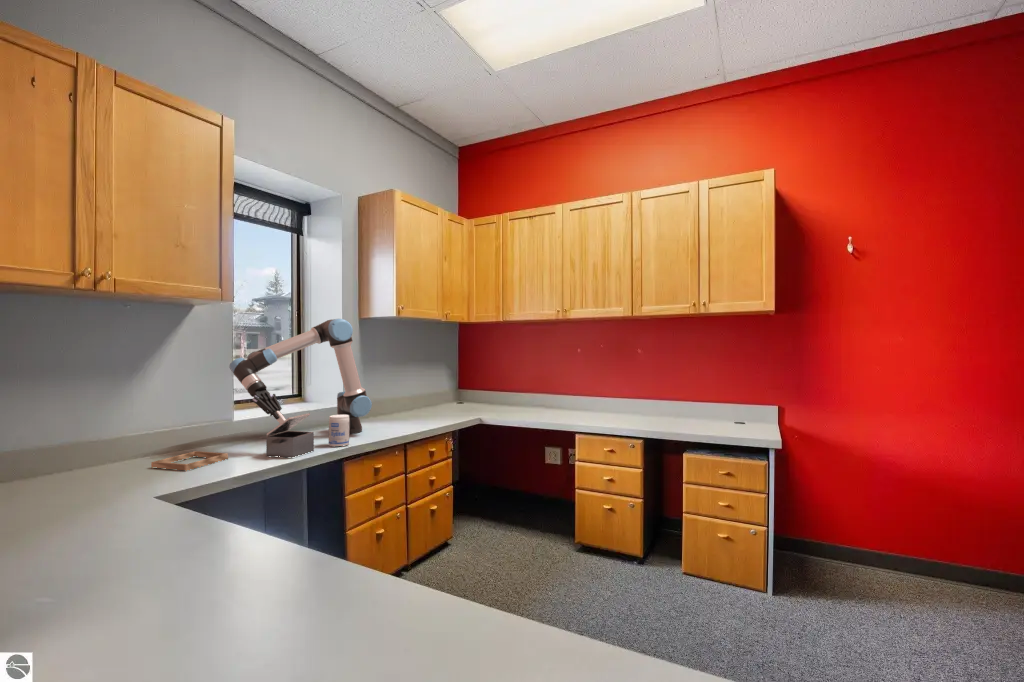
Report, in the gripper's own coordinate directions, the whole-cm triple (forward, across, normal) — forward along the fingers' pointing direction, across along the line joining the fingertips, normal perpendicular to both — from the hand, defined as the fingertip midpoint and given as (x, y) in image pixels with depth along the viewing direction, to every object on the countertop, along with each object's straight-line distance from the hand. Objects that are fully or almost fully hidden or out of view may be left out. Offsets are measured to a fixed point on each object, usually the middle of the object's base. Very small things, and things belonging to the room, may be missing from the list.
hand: (284, 423), depth 221 cm
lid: (+2, 0, +1) cm, 2 cm away
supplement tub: (+20, -21, 0) cm, 29 cm away
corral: (-8, +25, -28) cm, 38 cm away
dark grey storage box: (+12, 0, -7) cm, 14 cm away
